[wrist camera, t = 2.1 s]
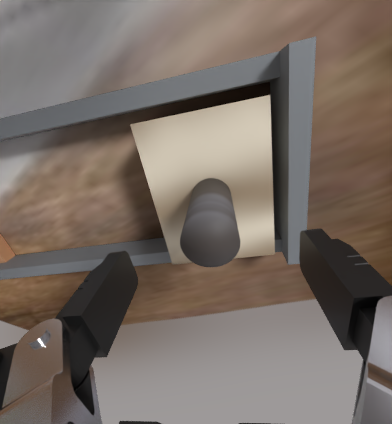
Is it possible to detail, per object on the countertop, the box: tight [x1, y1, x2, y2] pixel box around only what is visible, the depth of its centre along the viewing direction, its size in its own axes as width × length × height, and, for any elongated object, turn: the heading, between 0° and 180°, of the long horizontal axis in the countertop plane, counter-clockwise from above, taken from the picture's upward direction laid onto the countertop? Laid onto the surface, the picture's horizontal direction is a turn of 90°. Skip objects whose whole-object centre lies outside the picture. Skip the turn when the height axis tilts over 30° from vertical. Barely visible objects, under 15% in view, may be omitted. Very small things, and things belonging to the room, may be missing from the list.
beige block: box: [130, 95, 275, 267], centre depth 16 cm, size 12×9×12 cm
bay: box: [0, 37, 316, 280], centre depth 21 cm, size 17×38×5 cm, turn 101°
